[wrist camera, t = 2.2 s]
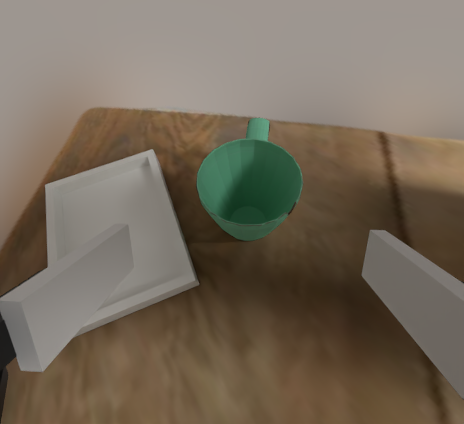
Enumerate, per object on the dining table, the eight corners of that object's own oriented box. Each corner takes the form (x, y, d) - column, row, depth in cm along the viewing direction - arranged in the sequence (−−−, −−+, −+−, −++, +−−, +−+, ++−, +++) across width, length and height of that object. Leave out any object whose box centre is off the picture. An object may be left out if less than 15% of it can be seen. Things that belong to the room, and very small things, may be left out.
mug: (284, 266, 28) (302, 233, 19) (202, 254, 29) (184, 218, 20) (289, 166, 35) (305, 108, 26) (223, 160, 36) (216, 102, 27)
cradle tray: (158, 160, 36) (152, 149, 34) (199, 284, 27) (195, 280, 25) (58, 194, 34) (45, 184, 32) (67, 340, 25) (50, 340, 23)
